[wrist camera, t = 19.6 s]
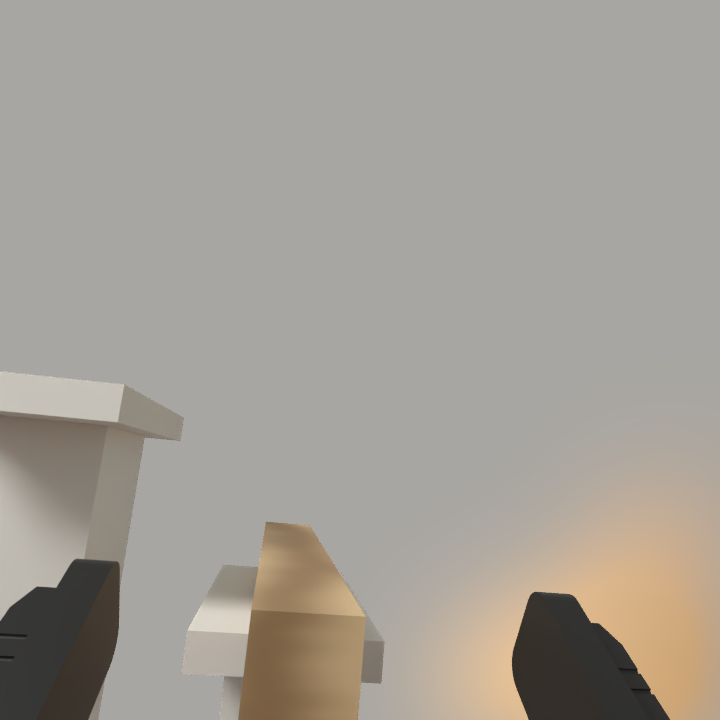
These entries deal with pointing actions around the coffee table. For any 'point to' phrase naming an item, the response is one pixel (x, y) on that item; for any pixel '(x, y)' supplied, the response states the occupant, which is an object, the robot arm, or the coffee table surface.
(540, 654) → the robot arm
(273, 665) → the wooden slat
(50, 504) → the two-step rack
